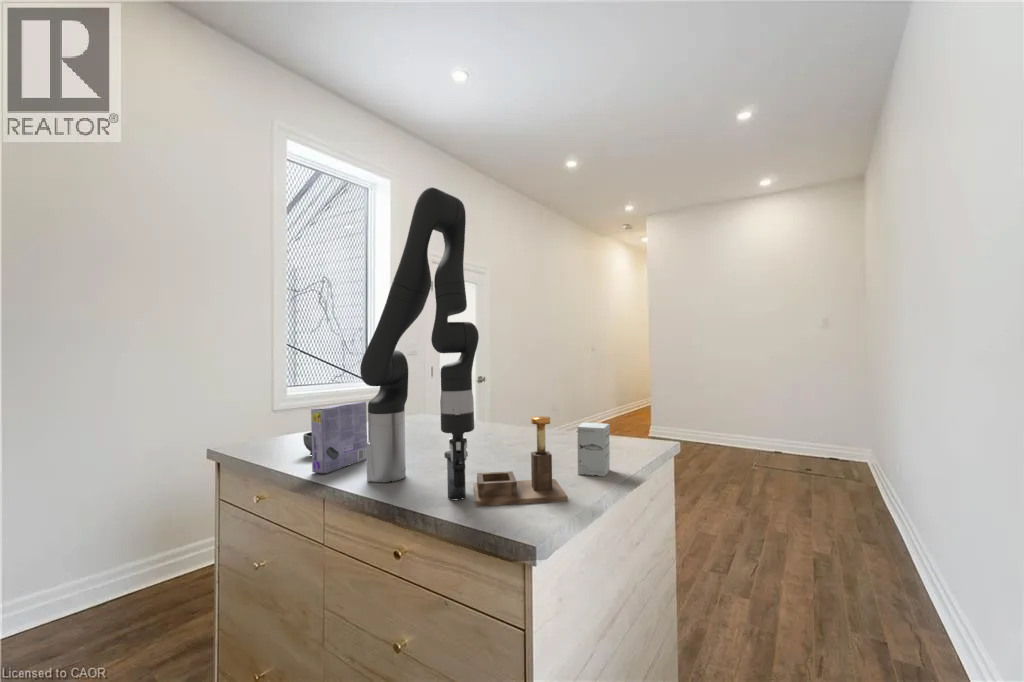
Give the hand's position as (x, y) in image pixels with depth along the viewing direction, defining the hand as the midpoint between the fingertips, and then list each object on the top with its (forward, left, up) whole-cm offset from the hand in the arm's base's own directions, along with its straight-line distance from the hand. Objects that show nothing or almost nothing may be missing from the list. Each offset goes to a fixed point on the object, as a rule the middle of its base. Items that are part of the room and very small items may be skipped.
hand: (459, 481), depth 104 cm
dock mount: (+13, 0, -3) cm, 14 cm away
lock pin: (+19, 0, +4) cm, 19 cm away
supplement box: (+35, +14, -4) cm, 38 cm away
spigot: (-1, 0, -3) cm, 3 cm away
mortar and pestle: (-44, +48, -4) cm, 65 cm away
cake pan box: (-34, +33, -4) cm, 47 cm away
